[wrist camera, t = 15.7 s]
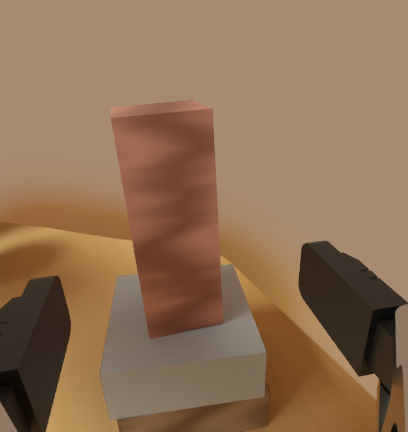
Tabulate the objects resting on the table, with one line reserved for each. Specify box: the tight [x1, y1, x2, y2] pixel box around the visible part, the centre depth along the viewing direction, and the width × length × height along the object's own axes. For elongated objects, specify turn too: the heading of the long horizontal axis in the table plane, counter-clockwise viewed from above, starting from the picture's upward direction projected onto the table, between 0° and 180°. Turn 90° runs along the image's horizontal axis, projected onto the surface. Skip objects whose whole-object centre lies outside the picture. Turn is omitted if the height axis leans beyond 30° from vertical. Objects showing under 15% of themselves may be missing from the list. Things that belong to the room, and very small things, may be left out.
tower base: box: [117, 382, 270, 432], centre depth 27 cm, size 10×10×4 cm
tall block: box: [111, 100, 223, 339], centre depth 21 cm, size 5×5×14 cm
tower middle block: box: [99, 264, 267, 420], centre depth 25 cm, size 10×10×4 cm
